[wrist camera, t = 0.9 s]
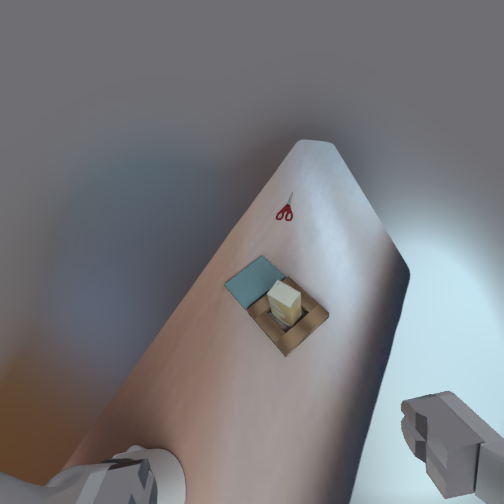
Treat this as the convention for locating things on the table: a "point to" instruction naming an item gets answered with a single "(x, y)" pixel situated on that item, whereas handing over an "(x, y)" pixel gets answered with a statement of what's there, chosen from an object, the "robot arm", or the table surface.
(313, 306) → the pocket holder
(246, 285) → the teal mat
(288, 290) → the skincare box
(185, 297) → the table surface
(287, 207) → the scissors
